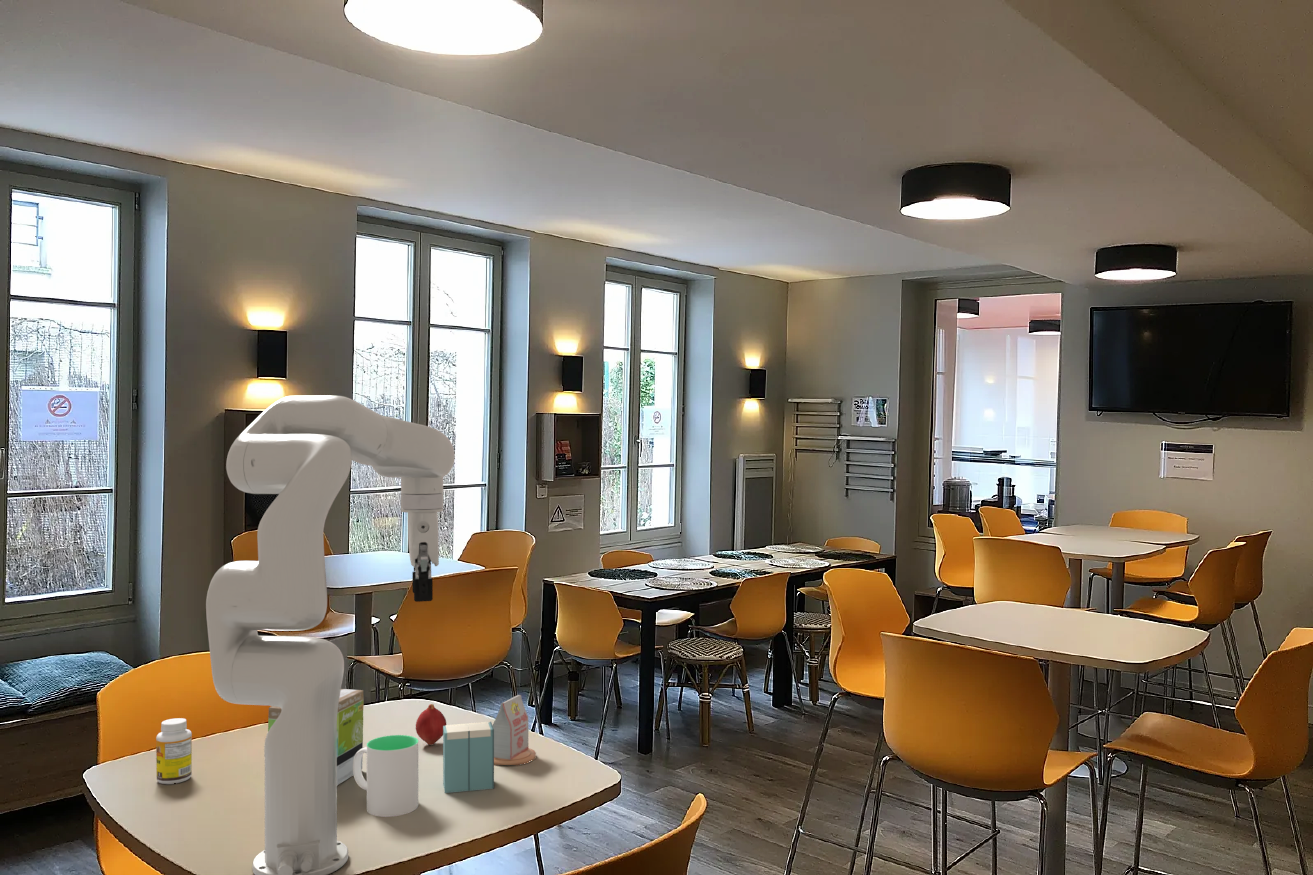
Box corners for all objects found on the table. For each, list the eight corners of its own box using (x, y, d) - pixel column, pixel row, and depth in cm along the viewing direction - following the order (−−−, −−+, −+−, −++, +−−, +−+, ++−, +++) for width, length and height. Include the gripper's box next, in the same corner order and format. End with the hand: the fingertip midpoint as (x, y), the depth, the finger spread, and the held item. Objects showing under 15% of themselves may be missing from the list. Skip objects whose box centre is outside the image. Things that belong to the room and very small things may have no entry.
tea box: (320, 800, 163) (320, 710, 163) (265, 796, 165) (264, 707, 165) (364, 770, 178) (364, 687, 178) (313, 766, 180) (313, 684, 180)
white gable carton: (492, 757, 182) (492, 702, 182) (511, 746, 188) (511, 693, 188) (510, 759, 180) (510, 704, 180) (528, 748, 187) (528, 695, 187)
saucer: (539, 763, 181) (539, 758, 181) (489, 767, 179) (489, 762, 179) (532, 748, 190) (532, 743, 190) (484, 752, 188) (484, 747, 188)
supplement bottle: (159, 776, 175) (159, 718, 175) (194, 773, 176) (193, 715, 176) (153, 787, 169) (153, 727, 169) (189, 783, 171) (189, 724, 171)
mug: (336, 808, 160) (336, 743, 160) (369, 791, 167) (369, 730, 167) (397, 819, 155) (397, 753, 155) (428, 802, 162) (428, 738, 162)
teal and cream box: (494, 788, 168) (493, 729, 168) (444, 793, 166) (444, 732, 166) (491, 779, 173) (491, 721, 173) (443, 784, 171) (443, 725, 171)
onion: (413, 742, 194) (413, 701, 194) (442, 738, 196) (442, 698, 196) (419, 751, 188) (419, 709, 188) (449, 747, 191) (449, 705, 191)
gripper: (446, 506, 175) (446, 603, 175) (440, 500, 191) (440, 589, 191) (401, 507, 173) (402, 605, 173) (400, 500, 189) (400, 590, 189)
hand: (422, 596), depth 182 cm, fingers open, 9 cm apart
